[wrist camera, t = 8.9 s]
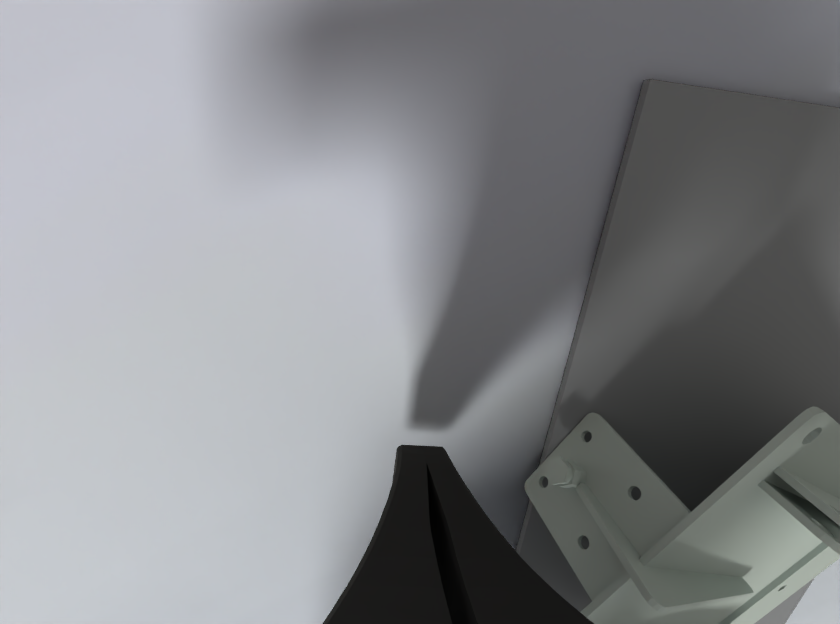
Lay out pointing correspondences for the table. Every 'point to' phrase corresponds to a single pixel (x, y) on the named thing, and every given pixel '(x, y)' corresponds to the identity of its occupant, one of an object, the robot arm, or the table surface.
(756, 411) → the rubber mat
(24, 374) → the table surface
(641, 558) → the metal bracket
